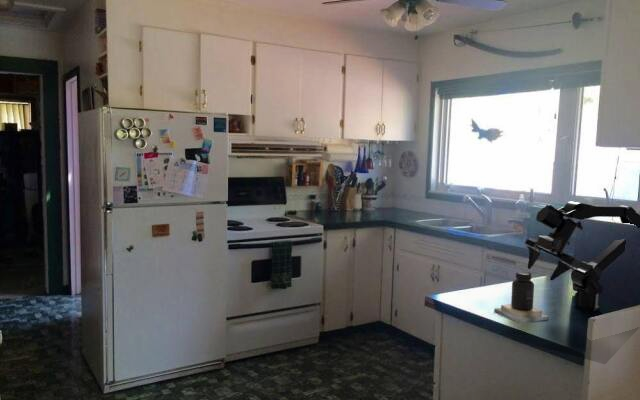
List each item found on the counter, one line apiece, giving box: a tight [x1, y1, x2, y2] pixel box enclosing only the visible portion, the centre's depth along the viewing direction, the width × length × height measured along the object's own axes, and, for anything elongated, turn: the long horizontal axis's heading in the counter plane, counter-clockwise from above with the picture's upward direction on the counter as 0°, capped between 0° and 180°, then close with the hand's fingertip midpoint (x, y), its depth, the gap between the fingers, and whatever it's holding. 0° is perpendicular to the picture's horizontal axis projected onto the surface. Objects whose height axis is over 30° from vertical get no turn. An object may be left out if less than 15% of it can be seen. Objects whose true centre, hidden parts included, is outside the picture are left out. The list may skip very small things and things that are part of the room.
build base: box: [493, 303, 550, 324], centre depth 172 cm, size 12×12×2 cm
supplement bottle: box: [510, 270, 535, 311], centre depth 171 cm, size 7×7×12 cm
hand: (539, 274), depth 179 cm, fingers open, 9 cm apart
